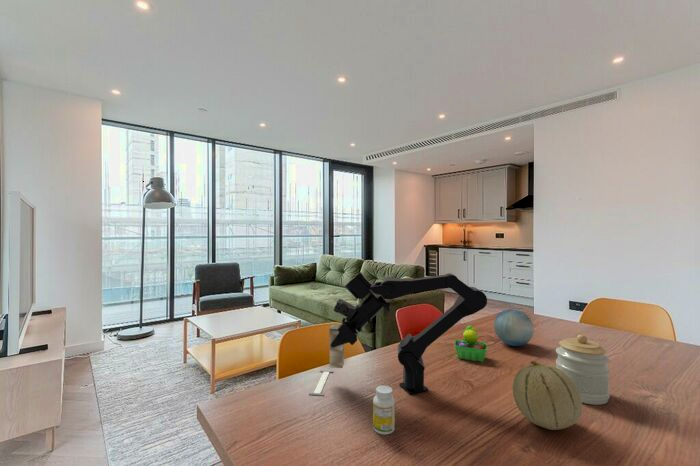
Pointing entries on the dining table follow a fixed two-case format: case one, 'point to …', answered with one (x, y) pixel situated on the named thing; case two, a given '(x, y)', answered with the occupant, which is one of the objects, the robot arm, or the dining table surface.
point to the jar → (585, 368)
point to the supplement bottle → (384, 410)
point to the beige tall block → (335, 349)
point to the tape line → (321, 383)
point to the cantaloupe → (547, 396)
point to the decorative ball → (513, 327)
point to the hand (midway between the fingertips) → (332, 343)
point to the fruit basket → (470, 346)
